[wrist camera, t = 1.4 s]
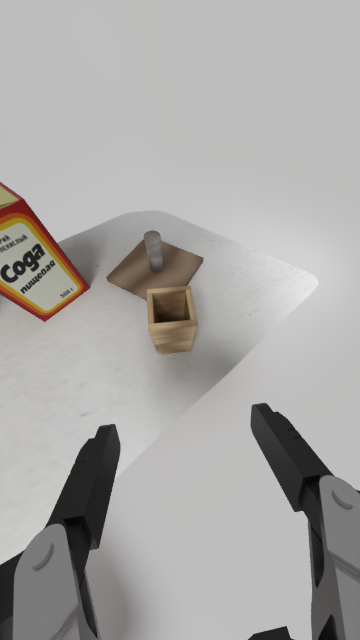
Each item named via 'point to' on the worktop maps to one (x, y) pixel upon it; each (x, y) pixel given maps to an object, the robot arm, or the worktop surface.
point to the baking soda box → (33, 261)
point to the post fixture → (154, 266)
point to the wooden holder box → (171, 319)
